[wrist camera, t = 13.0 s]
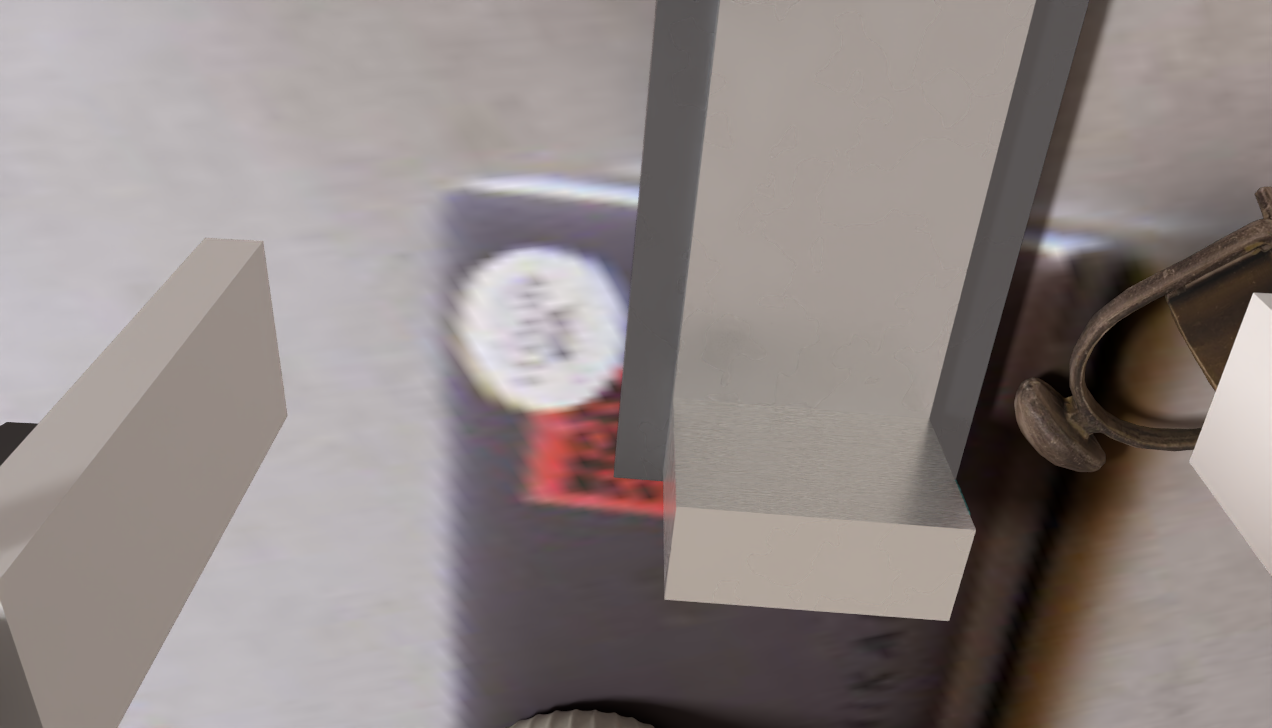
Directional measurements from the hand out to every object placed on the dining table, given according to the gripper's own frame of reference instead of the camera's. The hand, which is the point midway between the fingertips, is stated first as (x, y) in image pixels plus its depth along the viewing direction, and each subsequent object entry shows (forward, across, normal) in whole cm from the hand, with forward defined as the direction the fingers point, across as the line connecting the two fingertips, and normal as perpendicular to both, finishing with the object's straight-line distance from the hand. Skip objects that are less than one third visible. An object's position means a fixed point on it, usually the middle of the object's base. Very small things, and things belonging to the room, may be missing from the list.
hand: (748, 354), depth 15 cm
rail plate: (+25, +6, -6) cm, 26 cm away
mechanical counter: (+21, +21, -16) cm, 34 cm away
